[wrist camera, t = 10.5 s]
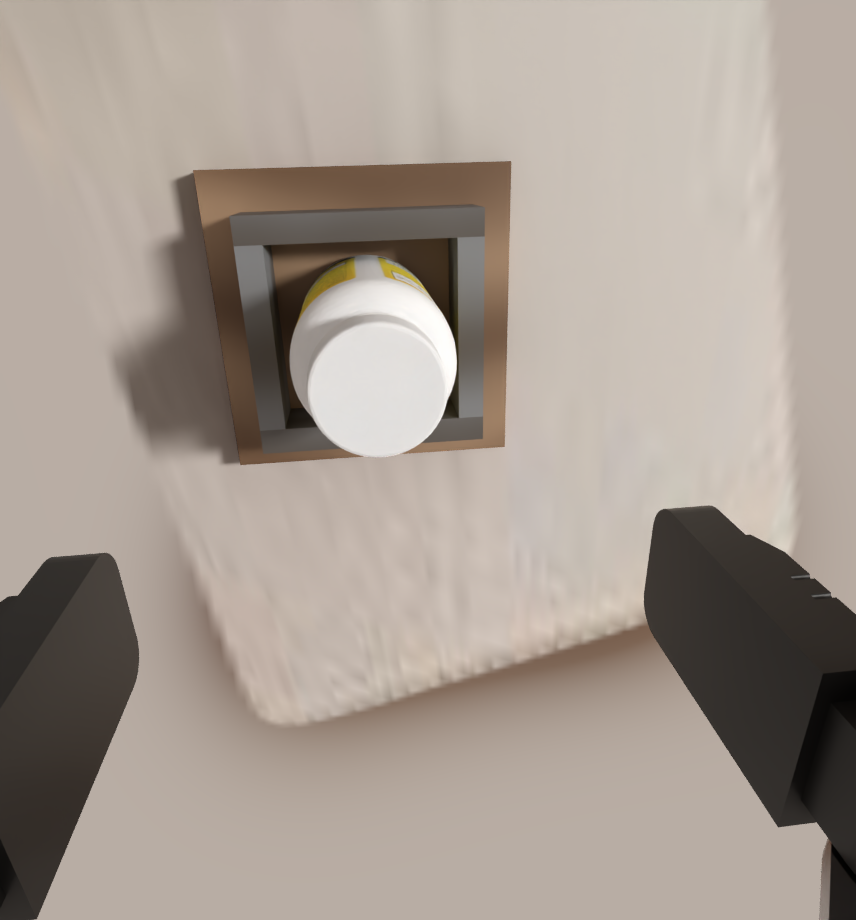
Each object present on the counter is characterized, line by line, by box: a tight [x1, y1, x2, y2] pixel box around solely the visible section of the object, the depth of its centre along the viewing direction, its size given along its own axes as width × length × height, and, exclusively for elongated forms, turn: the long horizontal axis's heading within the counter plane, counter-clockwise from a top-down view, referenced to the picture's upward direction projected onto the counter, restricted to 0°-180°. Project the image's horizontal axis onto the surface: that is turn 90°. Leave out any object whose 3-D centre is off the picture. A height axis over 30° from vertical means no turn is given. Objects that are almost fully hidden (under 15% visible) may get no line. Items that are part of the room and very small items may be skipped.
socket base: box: [193, 161, 511, 465], centre depth 26 cm, size 12×12×4 cm
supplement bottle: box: [290, 255, 457, 458], centre depth 22 cm, size 5×5×10 cm
